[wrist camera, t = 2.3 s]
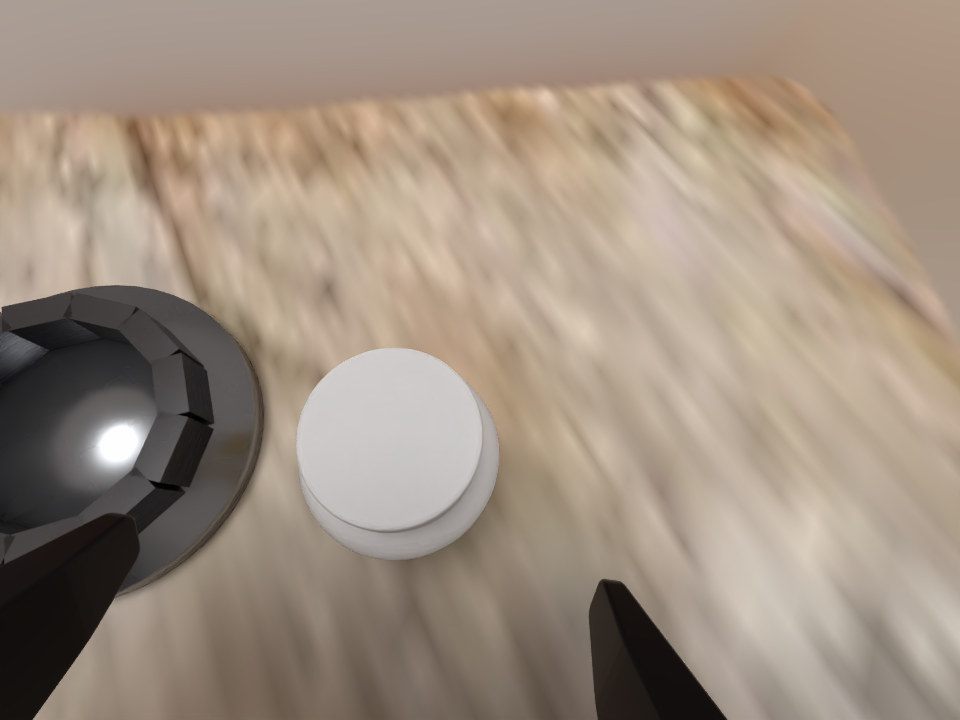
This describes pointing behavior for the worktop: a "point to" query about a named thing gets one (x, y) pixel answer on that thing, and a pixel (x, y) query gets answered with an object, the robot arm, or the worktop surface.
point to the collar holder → (122, 422)
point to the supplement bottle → (396, 454)
